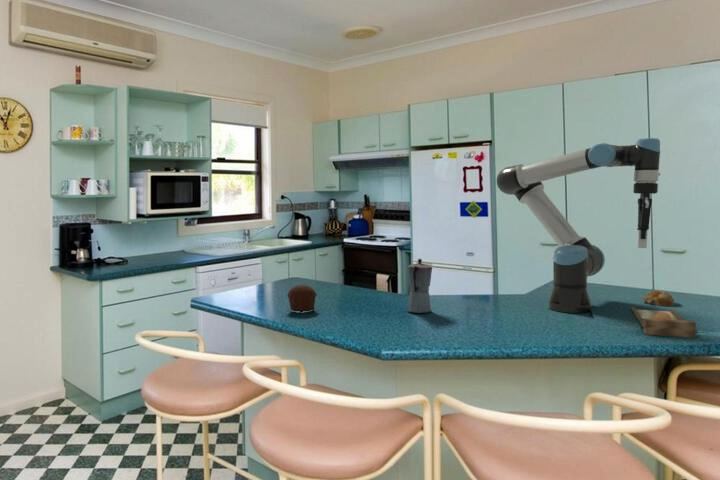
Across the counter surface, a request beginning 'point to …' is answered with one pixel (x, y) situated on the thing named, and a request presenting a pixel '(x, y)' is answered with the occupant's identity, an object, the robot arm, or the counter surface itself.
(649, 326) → the lane
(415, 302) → the moka pot
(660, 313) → the ball
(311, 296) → the muffin
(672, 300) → the bread roll
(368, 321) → the counter surface
